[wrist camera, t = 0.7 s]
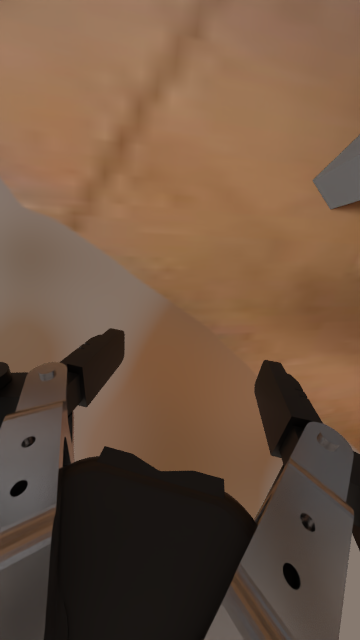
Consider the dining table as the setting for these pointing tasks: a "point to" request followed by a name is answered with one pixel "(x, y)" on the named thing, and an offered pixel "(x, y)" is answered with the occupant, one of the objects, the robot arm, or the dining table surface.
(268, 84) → the dining table surface
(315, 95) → the dining table surface
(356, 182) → the grey rectangular box
